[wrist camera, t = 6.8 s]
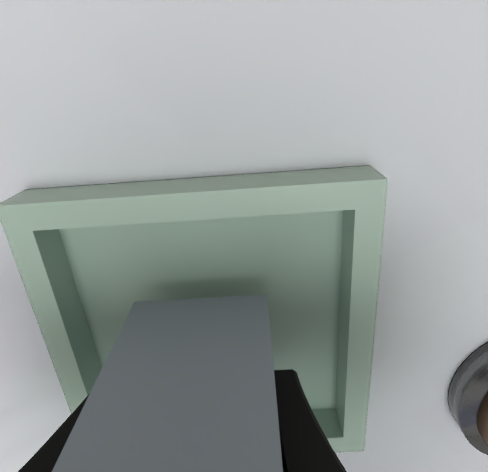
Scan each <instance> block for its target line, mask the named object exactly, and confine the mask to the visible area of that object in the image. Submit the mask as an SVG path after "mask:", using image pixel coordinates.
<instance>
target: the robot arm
mask: <svg viewBox="0 0 488 472" xmlns="http://www.w3.org/2000/svg"><path fill="white" fill-rule="evenodd" d="M274 376H275V387H276V398H277V410H278V421H279V432H280V443H281V455H282V466H283V472H346V470H345V468H344V467H343V465H342V464H341V462H340V460H339V459H338V457H337V455H336V454H335V452H334V450H333V449H332V447H331V445H330V443H329V441H328V440H327V438H326V436H325V434H324V432H323V430H322V429H321V427H320V425H319V423H318V421H317V419H316V417H315V415H314V413H313V411H312V409H311V407H310V405H309V403H308V401H307V398H306V396H305V394H304V391H303V389H302V386H301V384H300V381H299V378H298V375H297V372H296V371H294V370H293V369H287V370H274ZM89 394H90V393H89ZM88 396H89V395H88ZM88 396H87V397H86V398H85V399H84V400H83V401H82V403H81V404H80V405H79V406H78V407H77V408H76V409H75V411H74V412H73V413H72V414H71V415H70V416H69V417H68V418H67V420H66V421H65V422H64V423H63V424H62V425H61V426H60V427H59V429H58V430H57V431H56V432H55V433H54V434H53V435H52V436H51V437H50V438H49V440H48V441H47V442H46V443H45V444H44V445H43V446H42V447H41V448H40V449H39V450H38V452H37V453H36V454H35V455H34V456H33V457H32V458H31V459H30V460H29V461H28V462H27V463H26V464H25V465H24V466H23V467H22V468H21V469H20V470H19V471H18V472H52V470H53V468H54V466H55V464H56V462H57V460H58V458H59V456H60V454H61V452H62V450H63V448H64V446H65V443H66V441H67V439H68V437H69V435H70V433H71V431H72V429H73V427H74V425H75V423H76V421H77V419H78V417H79V415H80V413H81V411H82V409H83V406H84V404H85V402H86V400H87V398H88Z"/></svg>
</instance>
